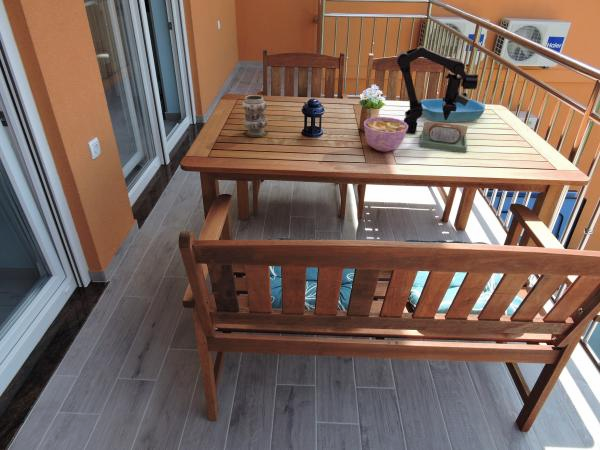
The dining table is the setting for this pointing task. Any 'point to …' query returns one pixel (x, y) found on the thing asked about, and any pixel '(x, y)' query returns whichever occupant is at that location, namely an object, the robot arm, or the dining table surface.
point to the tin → (444, 133)
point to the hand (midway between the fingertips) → (445, 119)
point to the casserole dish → (462, 113)
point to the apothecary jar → (254, 115)
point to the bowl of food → (384, 132)
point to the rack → (428, 143)
